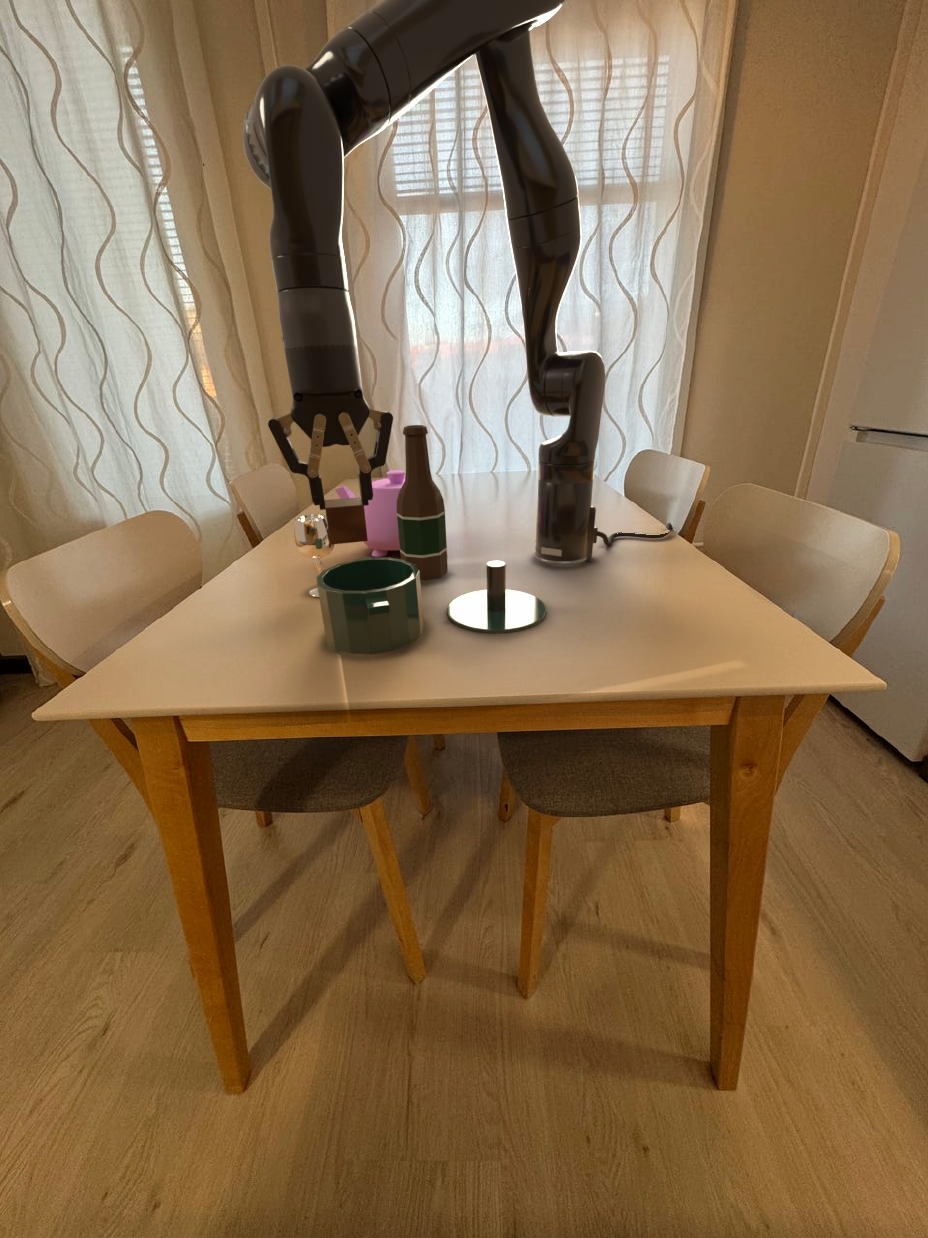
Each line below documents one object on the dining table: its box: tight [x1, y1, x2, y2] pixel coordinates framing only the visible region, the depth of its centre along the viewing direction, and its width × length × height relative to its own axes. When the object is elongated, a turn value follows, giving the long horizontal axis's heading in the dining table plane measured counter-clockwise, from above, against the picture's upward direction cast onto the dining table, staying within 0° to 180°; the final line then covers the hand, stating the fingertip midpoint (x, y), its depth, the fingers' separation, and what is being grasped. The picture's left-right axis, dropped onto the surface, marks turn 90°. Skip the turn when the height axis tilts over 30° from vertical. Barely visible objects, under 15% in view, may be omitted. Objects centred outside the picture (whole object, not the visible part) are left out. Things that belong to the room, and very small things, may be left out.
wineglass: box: [294, 513, 335, 598], centre depth 78 cm, size 6×6×12 cm
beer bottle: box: [397, 424, 448, 582], centre depth 80 cm, size 8×8×24 cm
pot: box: [315, 556, 425, 655], centre depth 64 cm, size 13×18×8 cm
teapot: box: [335, 469, 406, 558], centre depth 98 cm, size 20×20×15 cm
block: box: [324, 496, 368, 545], centre depth 61 cm, size 4×4×4 cm
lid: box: [447, 560, 547, 634], centre depth 69 cm, size 14×14×8 cm
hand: (344, 505), depth 60 cm, fingers closed on block, 4 cm apart
